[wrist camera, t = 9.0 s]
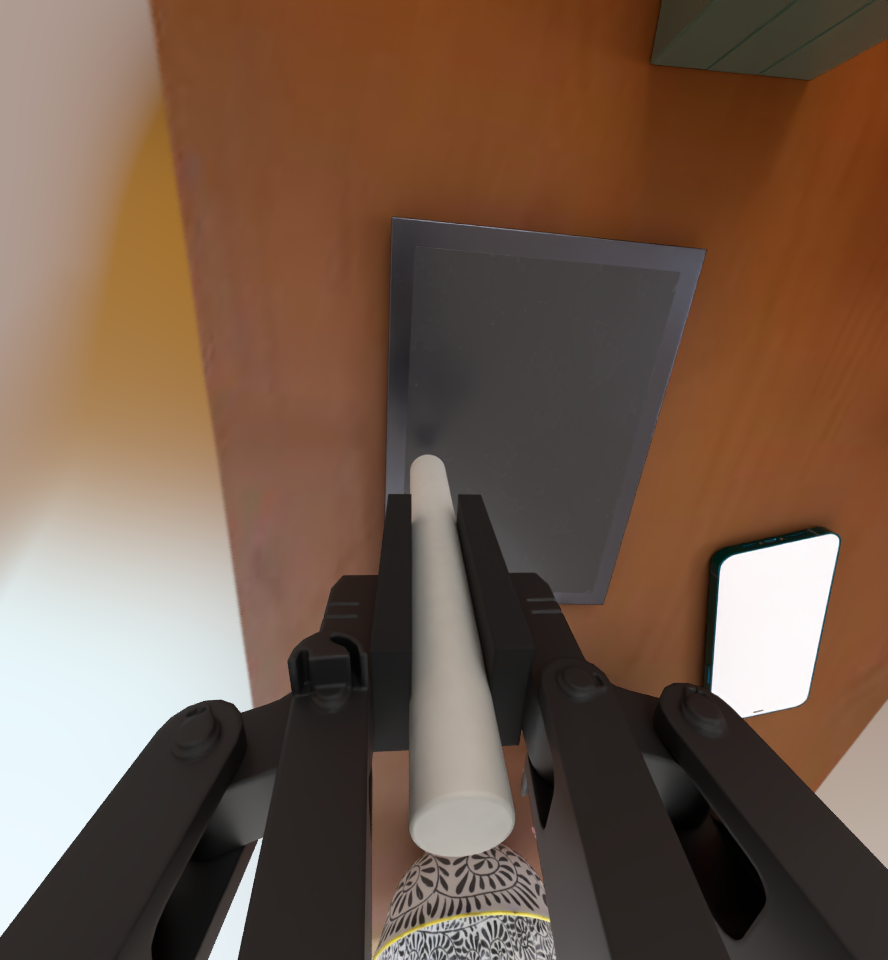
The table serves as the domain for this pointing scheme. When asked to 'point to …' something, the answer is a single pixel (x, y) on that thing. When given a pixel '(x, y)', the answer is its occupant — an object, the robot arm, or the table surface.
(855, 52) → the pen block
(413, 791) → the stylus
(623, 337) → the tablet
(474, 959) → the bowl
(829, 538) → the smartphone
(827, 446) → the table surface
